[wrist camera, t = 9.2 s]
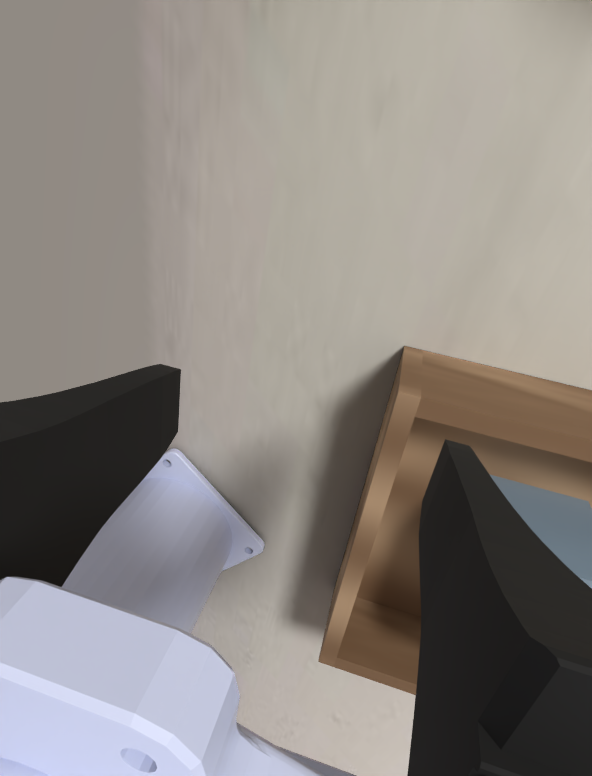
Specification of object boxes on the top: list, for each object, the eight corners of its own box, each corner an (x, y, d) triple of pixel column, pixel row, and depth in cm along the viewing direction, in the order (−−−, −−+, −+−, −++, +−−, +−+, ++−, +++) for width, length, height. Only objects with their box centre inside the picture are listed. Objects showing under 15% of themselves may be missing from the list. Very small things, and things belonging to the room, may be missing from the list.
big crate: (580, 669, 26) (606, 760, 22) (333, 590, 28) (318, 661, 24) (758, 430, 19) (845, 504, 15) (404, 345, 21) (398, 391, 17)
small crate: (527, 604, 24) (548, 702, 20) (429, 574, 25) (429, 662, 21) (588, 501, 21) (629, 592, 17) (474, 470, 22) (485, 549, 18)
